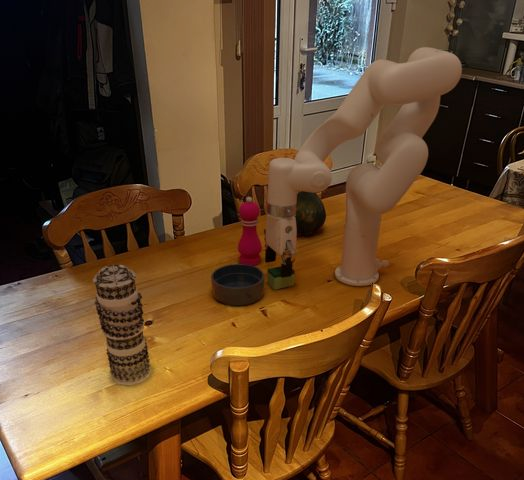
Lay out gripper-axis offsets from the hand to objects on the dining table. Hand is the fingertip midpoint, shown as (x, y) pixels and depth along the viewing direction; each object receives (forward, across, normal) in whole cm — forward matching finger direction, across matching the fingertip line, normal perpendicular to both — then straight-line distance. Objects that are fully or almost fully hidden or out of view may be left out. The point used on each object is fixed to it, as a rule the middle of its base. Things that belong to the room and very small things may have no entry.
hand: (278, 268), depth 147 cm
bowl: (+5, 0, +12) cm, 13 cm away
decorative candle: (+6, -23, +47) cm, 53 cm away
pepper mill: (+5, +17, +1) cm, 18 cm away
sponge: (+5, 0, -1) cm, 5 cm away
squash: (+4, +31, -25) cm, 40 cm away
